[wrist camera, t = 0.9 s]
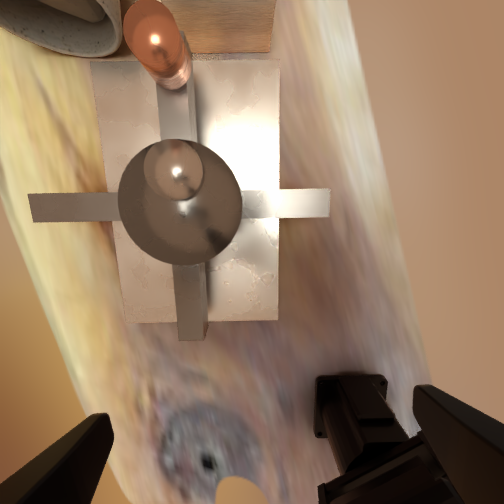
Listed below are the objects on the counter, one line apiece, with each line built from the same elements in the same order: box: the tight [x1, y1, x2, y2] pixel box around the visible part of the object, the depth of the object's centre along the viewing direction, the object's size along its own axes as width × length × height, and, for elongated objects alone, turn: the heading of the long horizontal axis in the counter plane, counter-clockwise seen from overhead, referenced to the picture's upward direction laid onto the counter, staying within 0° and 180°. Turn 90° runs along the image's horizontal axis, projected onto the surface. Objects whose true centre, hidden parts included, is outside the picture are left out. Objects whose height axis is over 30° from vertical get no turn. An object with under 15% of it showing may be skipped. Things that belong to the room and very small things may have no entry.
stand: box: [90, 0, 280, 323], centre depth 16 cm, size 24×12×5 cm, turn 1°
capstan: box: [28, 0, 331, 341], centre depth 13 cm, size 17×17×4 cm
